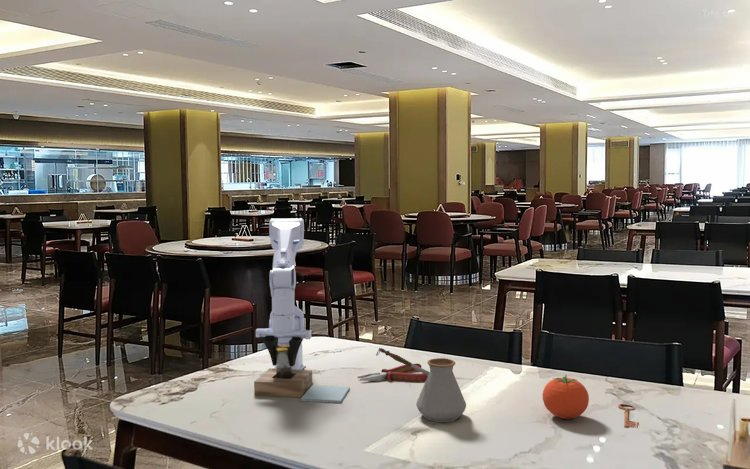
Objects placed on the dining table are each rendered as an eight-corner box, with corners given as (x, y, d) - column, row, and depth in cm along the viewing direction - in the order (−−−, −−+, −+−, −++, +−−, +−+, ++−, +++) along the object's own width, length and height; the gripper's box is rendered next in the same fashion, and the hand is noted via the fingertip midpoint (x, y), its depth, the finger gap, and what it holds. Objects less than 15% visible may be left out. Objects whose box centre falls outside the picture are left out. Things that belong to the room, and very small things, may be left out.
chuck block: (269, 380, 179) (269, 368, 179) (312, 383, 177) (312, 370, 177) (254, 394, 168) (254, 381, 167) (300, 397, 166) (299, 383, 165)
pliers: (352, 376, 185) (353, 367, 184) (419, 370, 191) (419, 361, 191) (364, 389, 174) (364, 379, 174) (435, 382, 180) (435, 373, 180)
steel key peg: (273, 378, 170) (273, 347, 170) (277, 374, 174) (277, 344, 174) (290, 378, 170) (289, 348, 169) (294, 374, 174) (293, 344, 174)
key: (644, 433, 144) (643, 410, 158) (645, 429, 144) (644, 406, 158) (616, 427, 146) (618, 405, 160) (616, 423, 146) (618, 401, 160)
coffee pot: (470, 410, 156) (470, 348, 155) (461, 428, 145) (461, 361, 144) (383, 401, 162) (383, 341, 161) (369, 417, 152) (368, 353, 150)
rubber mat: (312, 387, 174) (312, 385, 174) (349, 389, 172) (349, 386, 172) (301, 400, 163) (301, 398, 163) (340, 403, 161) (340, 400, 161)
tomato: (586, 412, 155) (587, 370, 154) (589, 427, 145) (591, 383, 144) (542, 408, 157) (542, 367, 157) (542, 423, 148) (542, 379, 147)
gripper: (251, 315, 168) (252, 367, 169) (306, 317, 166) (306, 370, 167) (260, 310, 175) (261, 360, 176) (313, 312, 173) (313, 362, 174)
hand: (283, 364), depth 172 cm, fingers closed on steel key peg, 4 cm apart
